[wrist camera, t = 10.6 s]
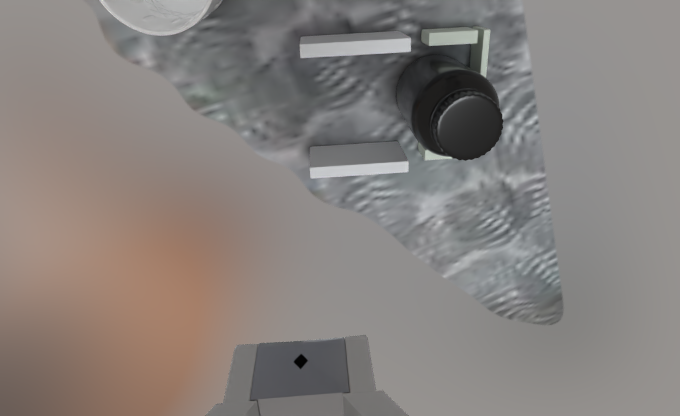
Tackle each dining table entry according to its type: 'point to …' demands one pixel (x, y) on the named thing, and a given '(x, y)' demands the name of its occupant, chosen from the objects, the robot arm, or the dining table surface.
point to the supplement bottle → (449, 107)
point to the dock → (477, 58)
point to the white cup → (160, 14)
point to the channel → (364, 154)
